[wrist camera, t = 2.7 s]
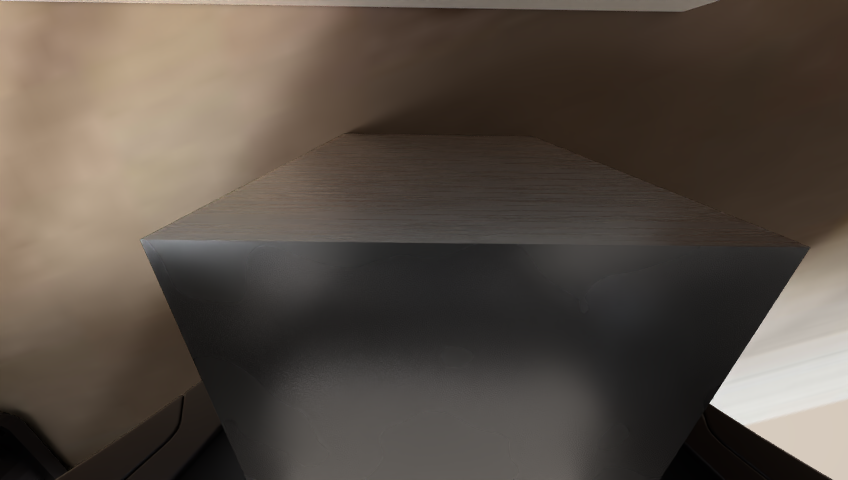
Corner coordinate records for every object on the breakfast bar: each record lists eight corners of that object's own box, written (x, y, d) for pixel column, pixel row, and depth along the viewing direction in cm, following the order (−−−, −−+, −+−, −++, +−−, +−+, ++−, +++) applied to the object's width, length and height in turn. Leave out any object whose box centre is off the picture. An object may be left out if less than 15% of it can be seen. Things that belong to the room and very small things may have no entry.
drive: (490, 385, 11) (551, 647, 6) (369, 384, 11) (320, 646, 6) (531, 135, 7) (811, 247, 2) (345, 133, 7) (139, 240, 2)
